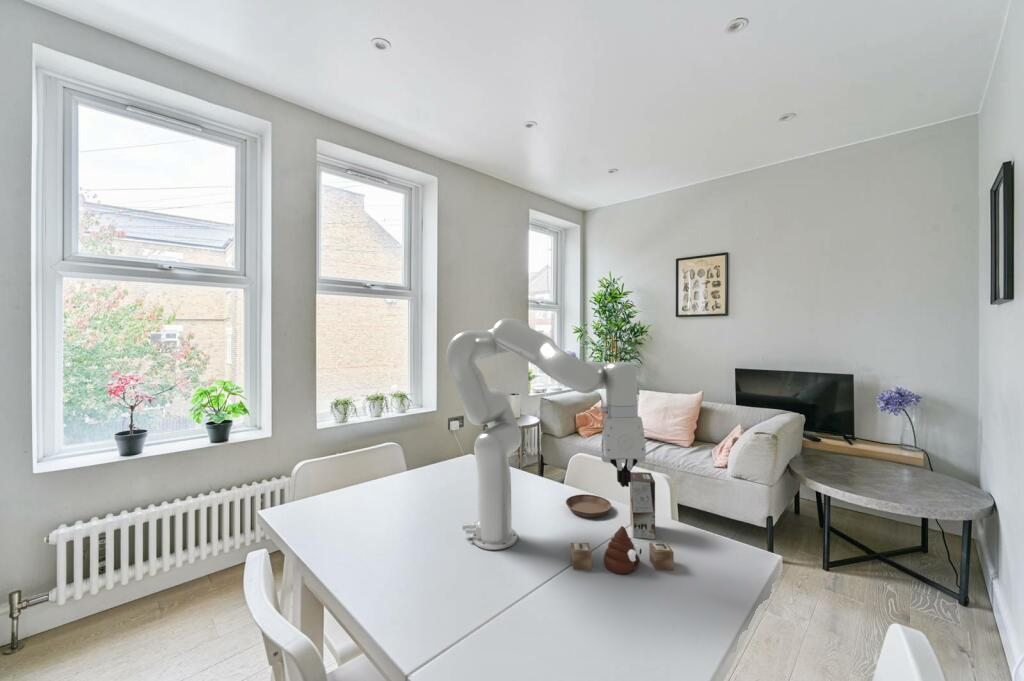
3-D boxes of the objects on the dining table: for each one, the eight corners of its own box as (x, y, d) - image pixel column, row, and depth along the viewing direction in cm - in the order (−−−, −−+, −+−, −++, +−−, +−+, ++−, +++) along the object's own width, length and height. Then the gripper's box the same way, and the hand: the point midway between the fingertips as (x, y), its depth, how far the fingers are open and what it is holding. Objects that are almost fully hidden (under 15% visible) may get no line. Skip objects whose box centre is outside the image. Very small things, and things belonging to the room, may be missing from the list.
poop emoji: (613, 551, 110) (613, 516, 110) (645, 561, 105) (645, 524, 105) (598, 569, 102) (597, 531, 102) (632, 580, 97) (631, 540, 97)
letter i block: (573, 570, 102) (572, 550, 101) (571, 560, 106) (570, 541, 106) (591, 570, 101) (591, 550, 101) (588, 560, 106) (588, 541, 106)
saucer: (620, 513, 135) (620, 504, 135) (588, 525, 126) (588, 516, 126) (588, 498, 147) (588, 491, 147) (556, 508, 139) (556, 500, 138)
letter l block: (655, 570, 101) (654, 550, 101) (649, 560, 105) (649, 541, 105) (673, 570, 101) (673, 550, 101) (667, 560, 105) (667, 541, 105)
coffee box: (656, 539, 116) (655, 482, 116) (632, 537, 117) (631, 481, 117) (651, 525, 125) (651, 472, 125) (629, 523, 126) (629, 471, 126)
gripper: (594, 414, 100) (596, 491, 100) (656, 413, 99) (659, 489, 99) (589, 409, 107) (591, 480, 107) (647, 408, 107) (649, 479, 107)
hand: (624, 484), depth 103 cm, fingers closed
